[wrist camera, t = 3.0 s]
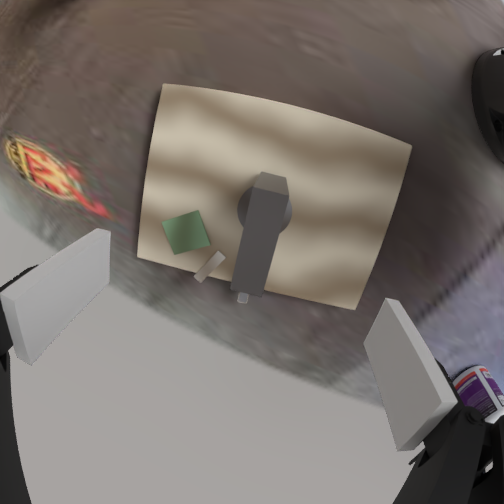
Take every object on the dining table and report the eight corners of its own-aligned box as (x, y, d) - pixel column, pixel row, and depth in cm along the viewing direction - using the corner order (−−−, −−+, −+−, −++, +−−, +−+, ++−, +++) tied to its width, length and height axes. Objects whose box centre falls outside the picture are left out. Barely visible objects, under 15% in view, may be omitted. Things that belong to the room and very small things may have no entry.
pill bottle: (441, 402, 38) (468, 467, 24) (452, 370, 35) (487, 439, 22) (478, 389, 36) (508, 447, 23) (490, 356, 34) (529, 417, 20)
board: (168, 85, 25) (161, 82, 23) (406, 145, 25) (414, 145, 23) (141, 267, 33) (134, 274, 31) (345, 317, 33) (348, 327, 31)
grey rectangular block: (289, 178, 26) (294, 197, 17) (256, 299, 30) (248, 357, 22) (258, 170, 26) (248, 185, 17) (230, 292, 30) (212, 348, 22)
